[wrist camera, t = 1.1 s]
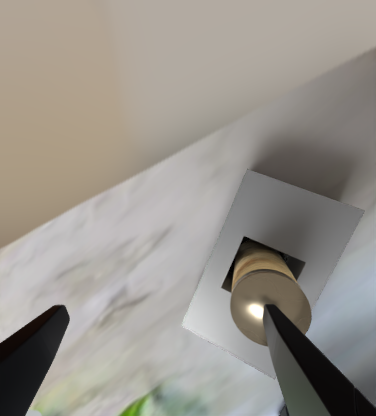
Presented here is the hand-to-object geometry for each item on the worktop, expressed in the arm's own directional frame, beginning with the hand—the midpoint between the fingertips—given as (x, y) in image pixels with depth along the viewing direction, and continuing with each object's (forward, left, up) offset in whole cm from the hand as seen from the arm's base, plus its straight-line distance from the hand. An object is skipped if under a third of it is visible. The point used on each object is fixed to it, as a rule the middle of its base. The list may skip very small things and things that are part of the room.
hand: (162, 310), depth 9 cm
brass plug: (-5, -1, -12) cm, 13 cm away
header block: (-5, -1, -12) cm, 13 cm away
